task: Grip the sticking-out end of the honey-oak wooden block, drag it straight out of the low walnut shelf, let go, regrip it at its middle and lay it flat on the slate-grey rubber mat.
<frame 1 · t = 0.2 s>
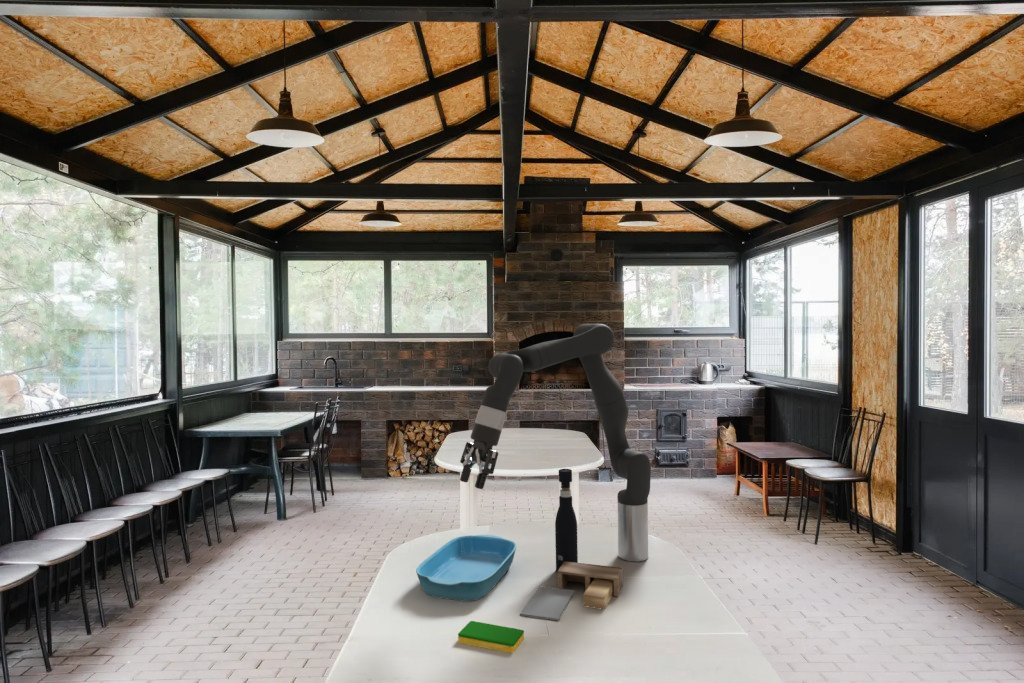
hand: (470, 484, 164), 31 cm above the table, tool tilted 20°, fingers open, 8 cm apart
wine bottle: (566, 571, 183), on the table
slate mat: (548, 603, 162), on the table
walnut shelf: (590, 587, 171), on the table
dish sponge: (491, 642, 144), on the table
oak block: (601, 598, 166), on the table
casserole dish: (469, 580, 179), on the table
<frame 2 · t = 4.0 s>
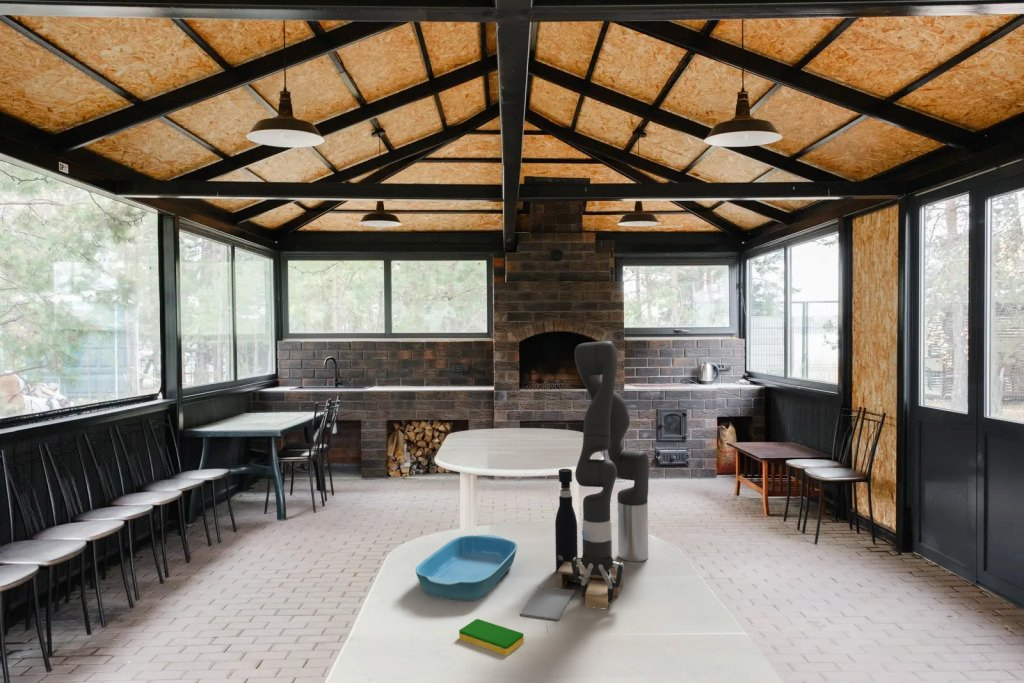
hand: (597, 599, 162), 1 cm above the table, tool pointing down, fingers closed on oak block, 5 cm apart
oak block: (600, 596, 166), on the table, touching gripper
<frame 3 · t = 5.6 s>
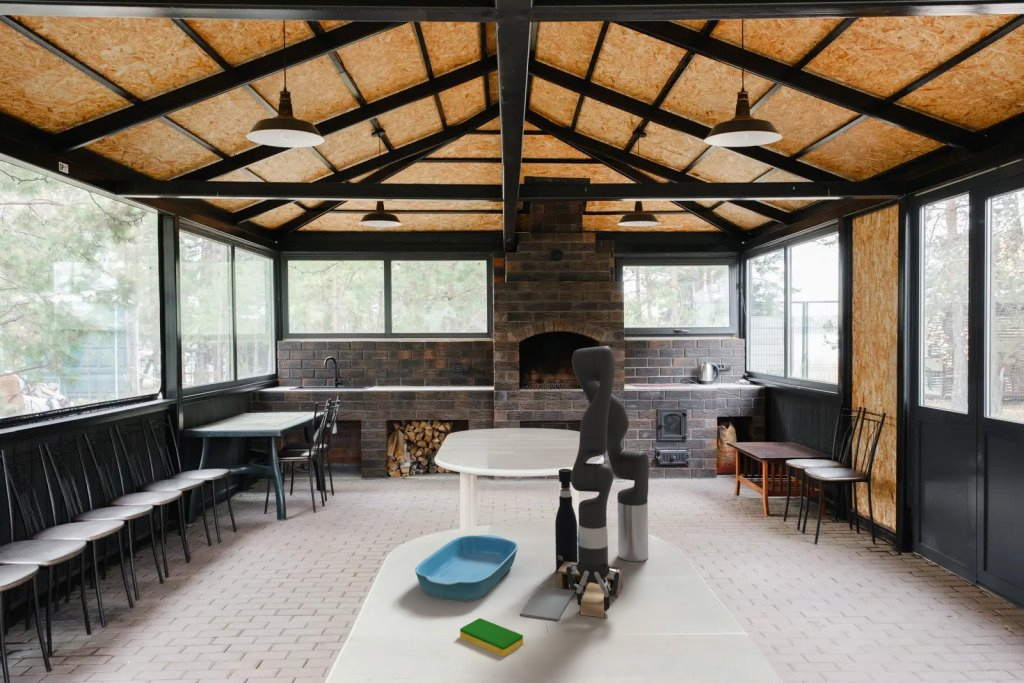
hand: (593, 608, 157), 1 cm above the table, tool pointing down, fingers closed on oak block, 5 cm apart
oak block: (596, 603, 161), on the table, touching gripper
when the fingers open (1 cm above the table, at t = 7.2 s): oak block stays where it is, on the table.
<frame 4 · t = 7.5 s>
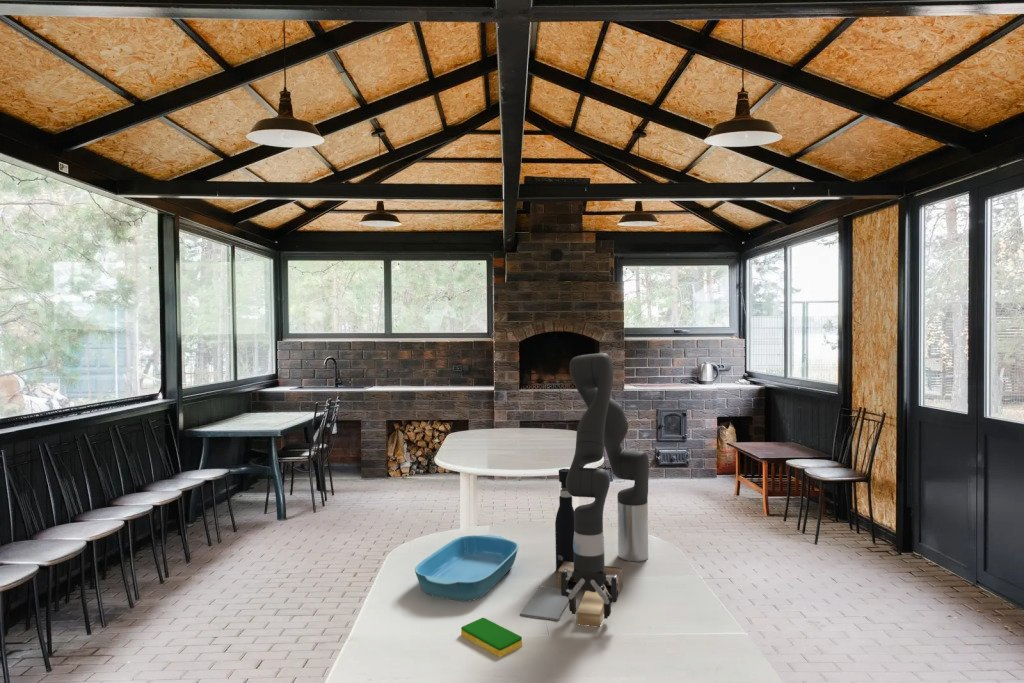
hand: (589, 615, 153), 1 cm above the table, tool pointing down, fingers open, 7 cm apart
oak block: (593, 614, 157), on the table
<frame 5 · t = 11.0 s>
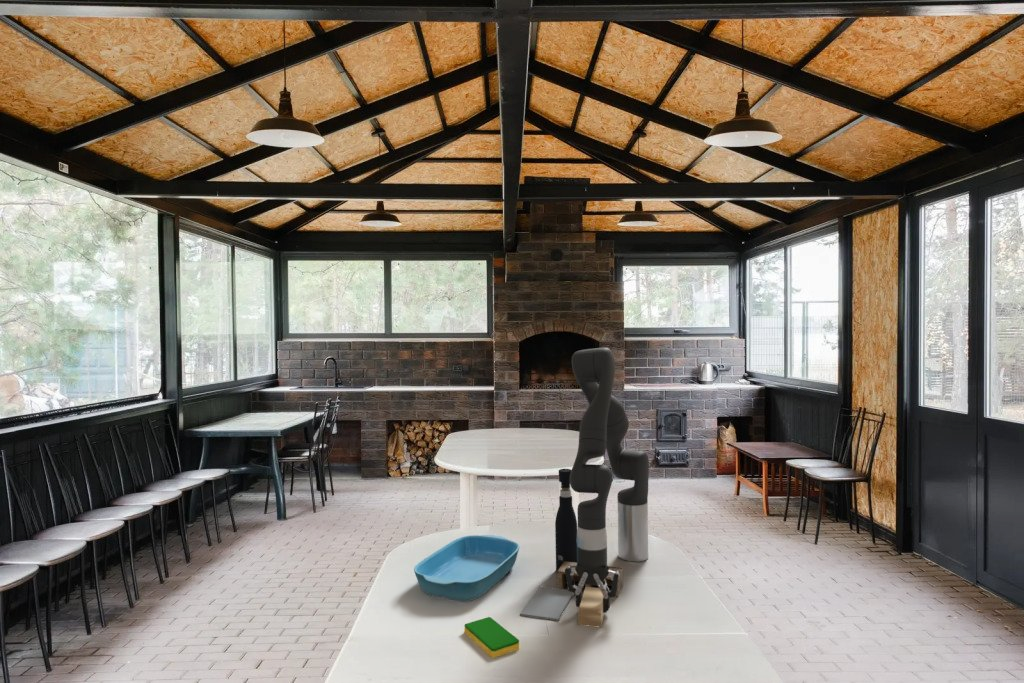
hand: (592, 609, 156), 1 cm above the table, tool pointing down, fingers closed on oak block, 5 cm apart
oak block: (593, 613, 157), on the table, touching gripper
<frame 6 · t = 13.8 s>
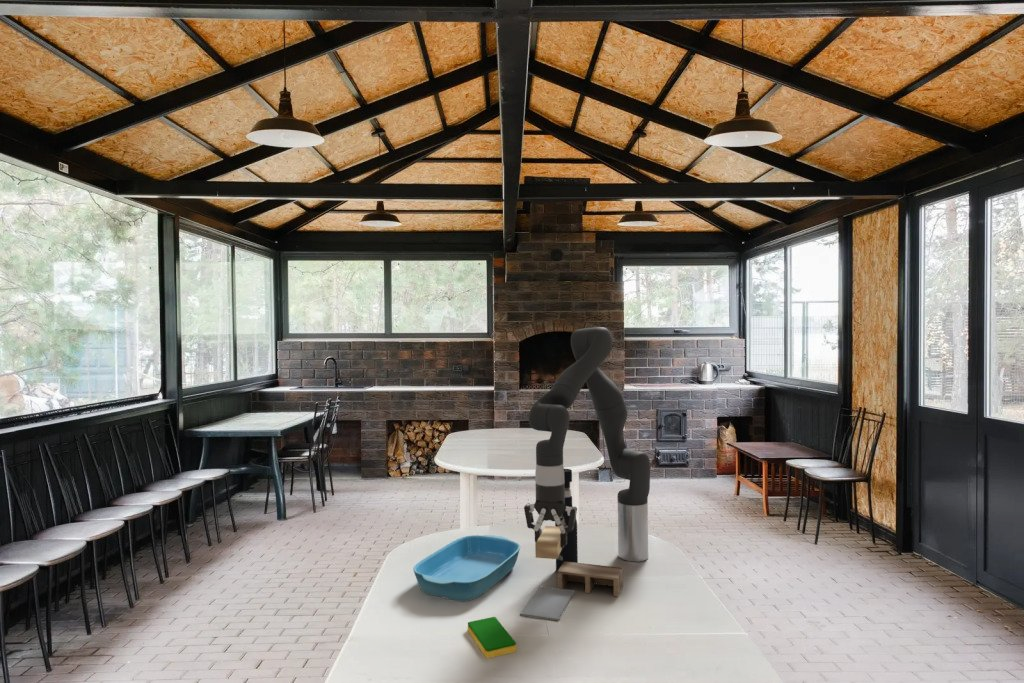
hand: (550, 545, 161), 16 cm above the table, tool pointing down, fingers closed on oak block, 5 cm apart
oak block: (551, 548, 161), point 15 cm above the table, touching gripper
when the fingers open (3 cm above the table, at t = 16.8 s): oak block drops 1 cm, resting on slate mat.
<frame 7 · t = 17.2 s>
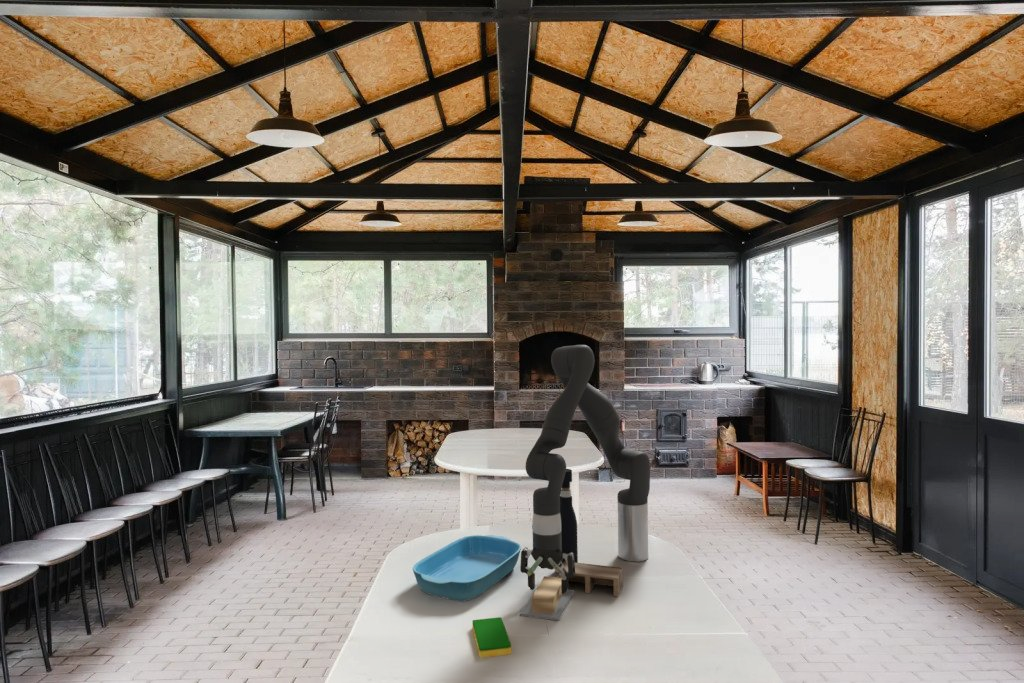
hand: (548, 590, 162), 3 cm above the table, tool pointing down, fingers open, 8 cm apart
oak block: (548, 601, 163), resting on slate mat
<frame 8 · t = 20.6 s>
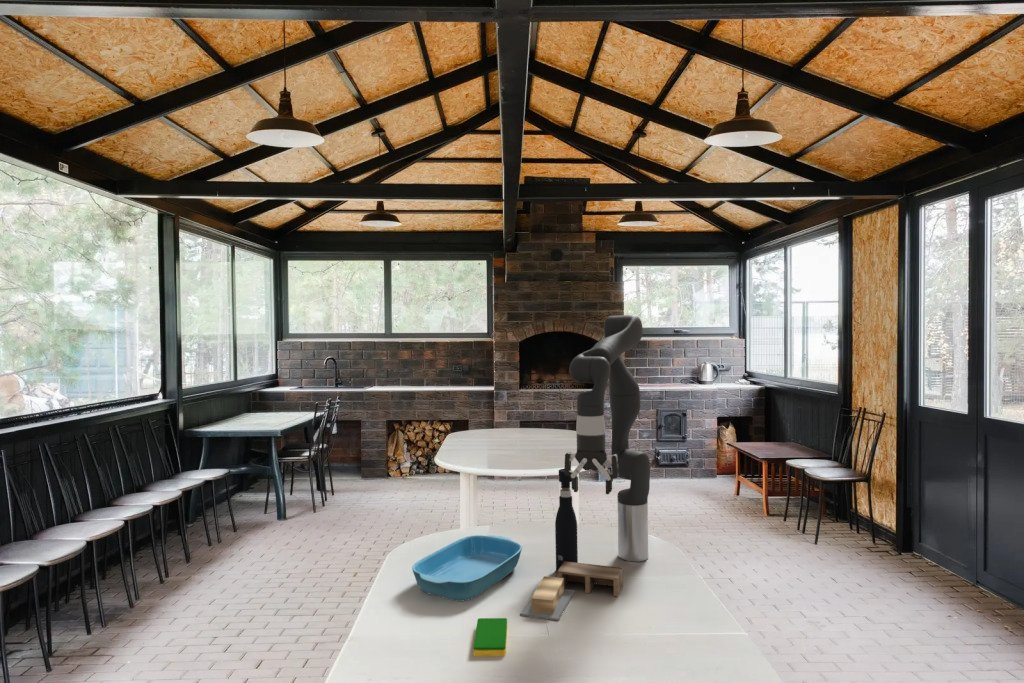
hand: (591, 492, 165), 28 cm above the table, tool pointing down, fingers open, 8 cm apart
at the end: oak block inside the target area on the slate mat (0.3 cm from its centre), point 0.5 cm above the slate mat's base; oak block tilted 0°; the gripper is holding nothing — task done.
